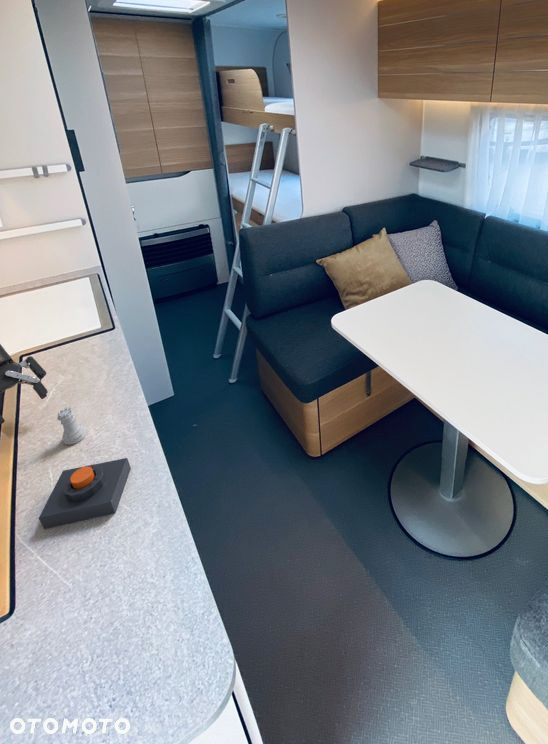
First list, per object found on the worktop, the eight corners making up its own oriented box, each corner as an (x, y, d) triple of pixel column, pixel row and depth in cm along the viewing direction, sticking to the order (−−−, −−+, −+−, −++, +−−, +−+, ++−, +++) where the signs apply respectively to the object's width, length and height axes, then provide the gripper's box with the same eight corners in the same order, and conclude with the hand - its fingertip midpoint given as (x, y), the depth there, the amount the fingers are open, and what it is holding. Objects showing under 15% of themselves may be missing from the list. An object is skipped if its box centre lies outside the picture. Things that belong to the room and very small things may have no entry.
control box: (44, 529, 76) (34, 511, 74) (67, 481, 85) (60, 464, 83) (115, 513, 78) (108, 495, 76) (131, 468, 87) (125, 451, 85)
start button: (69, 491, 78) (66, 485, 77) (77, 474, 81) (74, 468, 80) (90, 487, 78) (87, 480, 78) (97, 470, 82) (95, 464, 81)
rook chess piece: (69, 449, 92) (58, 422, 89) (60, 440, 94) (48, 414, 91) (90, 435, 96) (80, 408, 92) (81, 427, 98) (70, 401, 95)
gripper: (-59, 367, 86) (-11, 428, 87) (19, 331, 98) (61, 385, 98) (-62, 378, 90) (-16, 436, 91) (13, 342, 102) (53, 393, 103)
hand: (24, 409), depth 95 cm, fingers open, 8 cm apart
